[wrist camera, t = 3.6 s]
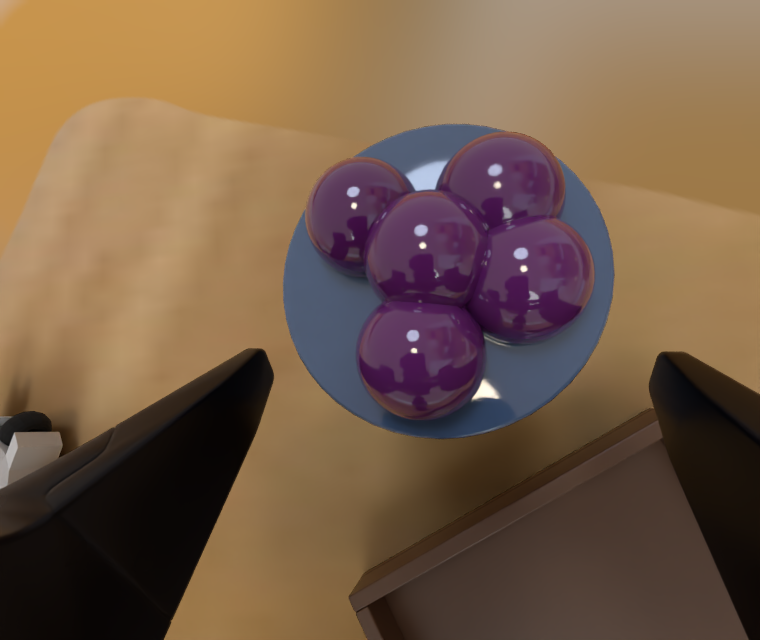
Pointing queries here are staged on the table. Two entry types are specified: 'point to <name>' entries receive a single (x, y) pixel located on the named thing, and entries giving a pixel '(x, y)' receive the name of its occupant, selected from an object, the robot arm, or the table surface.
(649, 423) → the tray
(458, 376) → the grape cup
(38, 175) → the table surface
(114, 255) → the table surface
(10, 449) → the robot toy
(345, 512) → the table surface
